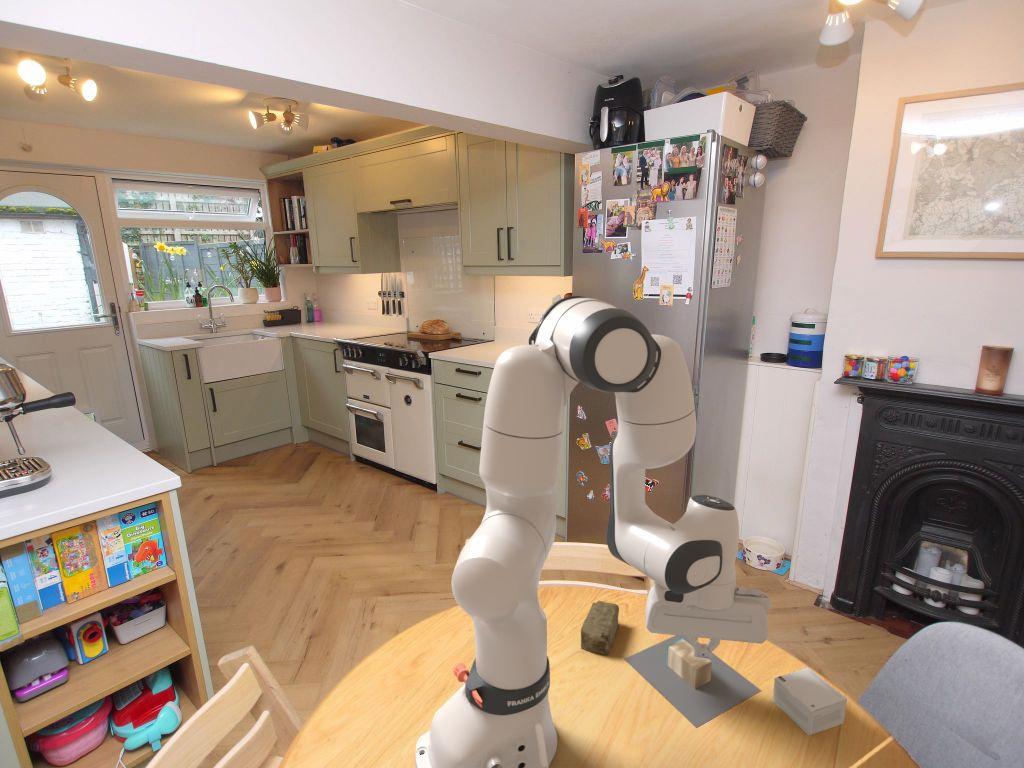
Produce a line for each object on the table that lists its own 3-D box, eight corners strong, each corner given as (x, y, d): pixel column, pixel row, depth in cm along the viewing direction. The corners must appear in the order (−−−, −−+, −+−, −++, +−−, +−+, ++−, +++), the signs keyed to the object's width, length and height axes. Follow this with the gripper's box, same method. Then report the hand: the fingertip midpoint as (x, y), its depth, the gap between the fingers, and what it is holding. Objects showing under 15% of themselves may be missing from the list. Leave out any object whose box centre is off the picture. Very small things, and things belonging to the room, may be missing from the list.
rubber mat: (696, 729, 86) (696, 727, 86) (623, 660, 102) (623, 658, 101) (761, 692, 93) (761, 690, 93) (684, 633, 109) (684, 631, 109)
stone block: (619, 623, 112) (620, 602, 111) (608, 660, 102) (608, 637, 101) (592, 617, 115) (593, 596, 114) (579, 652, 104) (579, 630, 103)
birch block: (695, 669, 93) (667, 645, 99) (694, 689, 94) (666, 664, 100) (711, 661, 95) (682, 638, 101) (710, 680, 96) (681, 656, 102)
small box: (845, 725, 87) (849, 698, 86) (808, 739, 84) (811, 712, 83) (805, 690, 94) (808, 665, 93) (770, 702, 91) (773, 677, 90)
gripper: (766, 580, 92) (759, 649, 95) (645, 571, 96) (643, 637, 99) (777, 602, 86) (769, 675, 89) (648, 591, 90) (645, 661, 93)
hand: (702, 655), depth 94 cm, fingers closed
